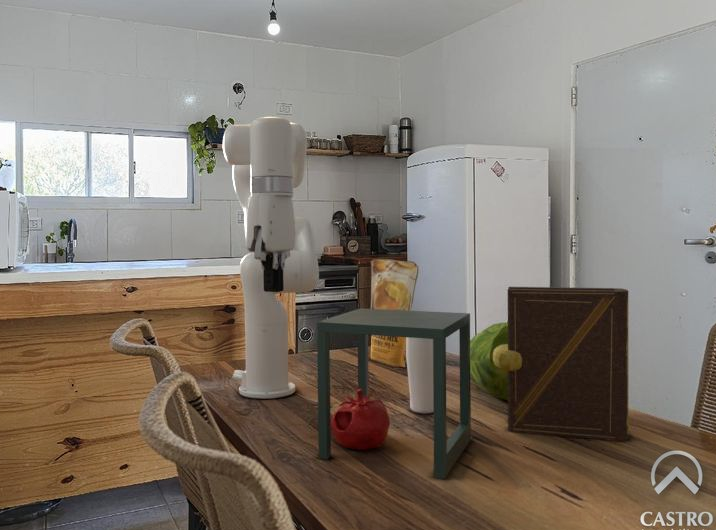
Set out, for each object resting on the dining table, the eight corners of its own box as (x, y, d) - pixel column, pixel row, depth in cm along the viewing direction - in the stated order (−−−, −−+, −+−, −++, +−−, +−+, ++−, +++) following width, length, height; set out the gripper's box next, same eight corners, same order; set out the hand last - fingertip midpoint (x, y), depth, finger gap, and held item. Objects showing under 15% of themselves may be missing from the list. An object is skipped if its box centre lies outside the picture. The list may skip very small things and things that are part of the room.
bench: (318, 458, 94) (316, 321, 93) (361, 424, 110) (360, 308, 109) (444, 479, 85) (443, 329, 85) (470, 439, 101) (470, 313, 101)
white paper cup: (441, 416, 114) (440, 338, 114) (405, 414, 116) (404, 337, 115) (441, 406, 121) (440, 332, 120) (407, 404, 122) (406, 331, 122)
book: (623, 428, 106) (623, 287, 105) (631, 444, 98) (631, 292, 97) (494, 417, 113) (493, 285, 113) (492, 431, 105) (491, 290, 105)
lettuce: (480, 410, 139) (514, 353, 144) (545, 421, 117) (582, 354, 122) (427, 366, 137) (463, 310, 142) (483, 370, 115) (523, 303, 120)
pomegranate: (385, 432, 105) (385, 380, 105) (394, 453, 95) (394, 395, 95) (329, 434, 105) (328, 381, 105) (332, 455, 95) (331, 397, 95)
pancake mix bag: (381, 354, 173) (380, 258, 173) (421, 367, 157) (420, 260, 156) (361, 357, 170) (360, 259, 169) (400, 370, 153) (399, 261, 153)
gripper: (275, 192, 115) (276, 287, 115) (230, 186, 101) (232, 294, 102) (309, 190, 111) (311, 288, 112) (268, 184, 98) (270, 296, 98)
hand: (273, 291), depth 107 cm, fingers closed
